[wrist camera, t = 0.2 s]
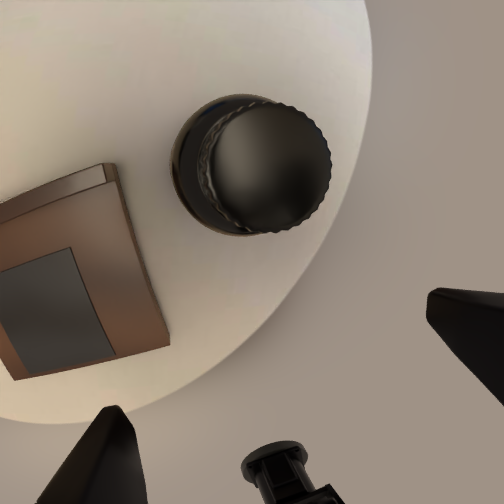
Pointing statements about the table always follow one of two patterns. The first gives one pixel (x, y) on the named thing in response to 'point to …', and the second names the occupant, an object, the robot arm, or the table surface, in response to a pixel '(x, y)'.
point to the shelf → (73, 278)
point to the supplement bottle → (250, 166)
